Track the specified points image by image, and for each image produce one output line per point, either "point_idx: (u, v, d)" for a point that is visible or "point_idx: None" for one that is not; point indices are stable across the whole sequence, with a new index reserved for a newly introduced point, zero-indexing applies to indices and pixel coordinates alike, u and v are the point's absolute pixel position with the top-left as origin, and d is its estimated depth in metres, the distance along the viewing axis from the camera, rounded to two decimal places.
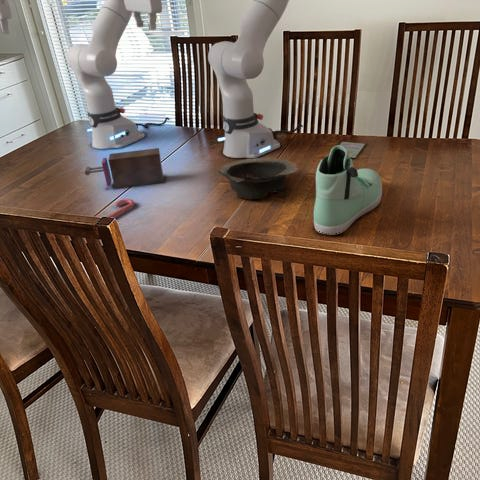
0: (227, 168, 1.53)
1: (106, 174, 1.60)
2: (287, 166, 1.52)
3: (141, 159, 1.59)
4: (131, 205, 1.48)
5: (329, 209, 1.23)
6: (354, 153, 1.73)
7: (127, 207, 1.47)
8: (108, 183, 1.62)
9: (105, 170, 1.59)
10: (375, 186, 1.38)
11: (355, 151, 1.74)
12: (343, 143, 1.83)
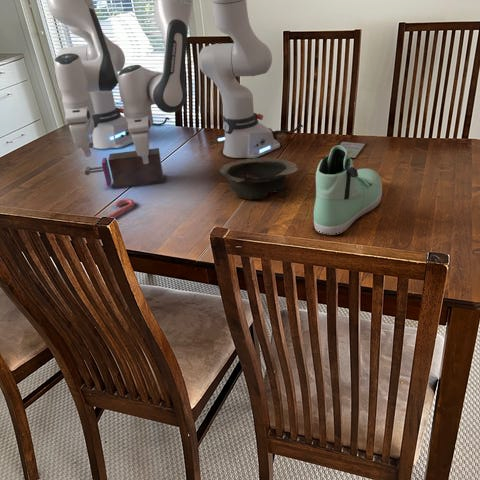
0: (227, 168, 1.53)
1: (106, 174, 1.60)
2: (287, 166, 1.52)
3: (141, 159, 1.59)
4: (131, 205, 1.48)
5: (329, 209, 1.23)
6: (354, 153, 1.73)
7: (127, 207, 1.47)
8: (108, 183, 1.62)
9: (105, 170, 1.59)
10: (375, 186, 1.38)
11: (355, 151, 1.74)
12: (343, 143, 1.83)
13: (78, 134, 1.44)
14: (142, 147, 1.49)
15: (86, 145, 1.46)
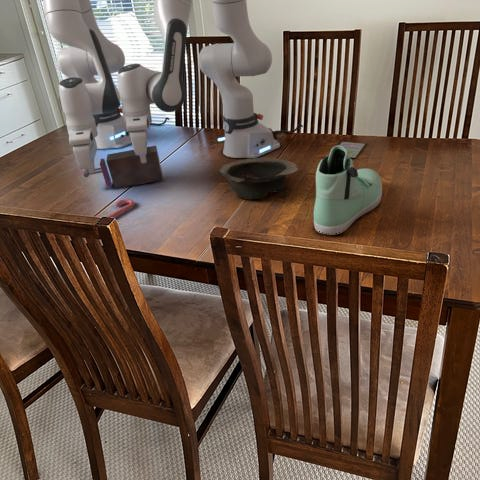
0: (227, 168, 1.53)
1: (105, 175, 1.60)
2: (287, 166, 1.52)
3: (139, 158, 1.58)
4: (131, 205, 1.48)
5: (329, 209, 1.23)
6: (354, 153, 1.73)
7: (127, 207, 1.47)
8: (107, 184, 1.62)
9: (104, 171, 1.59)
10: (375, 186, 1.38)
11: (355, 151, 1.74)
12: (343, 143, 1.83)
13: (81, 155, 1.47)
14: (141, 146, 1.49)
15: (89, 166, 1.49)
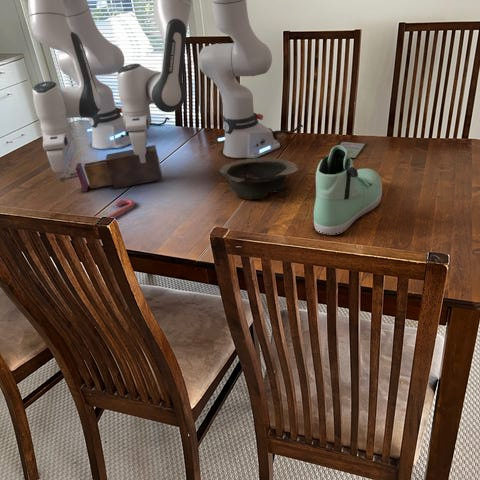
0: (227, 168, 1.53)
1: (81, 179, 1.60)
2: (287, 166, 1.52)
3: (138, 157, 1.58)
4: (131, 205, 1.48)
5: (329, 209, 1.23)
6: (354, 153, 1.73)
7: (127, 207, 1.47)
8: (84, 188, 1.61)
9: (80, 175, 1.59)
10: (375, 186, 1.38)
11: (355, 151, 1.74)
12: (343, 143, 1.83)
13: (55, 160, 1.47)
14: (140, 146, 1.49)
15: (63, 171, 1.49)
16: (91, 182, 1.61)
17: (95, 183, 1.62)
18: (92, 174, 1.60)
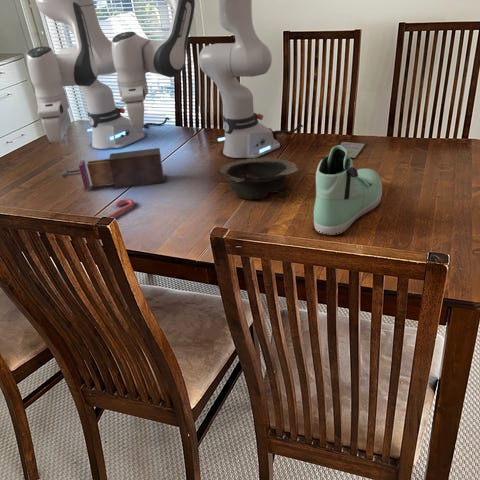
0: (227, 168, 1.53)
1: (83, 177, 1.59)
2: (287, 166, 1.52)
3: (141, 159, 1.59)
4: (131, 205, 1.48)
5: (329, 209, 1.23)
6: (354, 153, 1.73)
7: (127, 207, 1.47)
8: (86, 186, 1.61)
9: (82, 173, 1.59)
10: (375, 186, 1.38)
11: (355, 151, 1.74)
12: (343, 143, 1.83)
13: (51, 128, 1.42)
14: (137, 117, 1.44)
15: (59, 140, 1.44)
16: (93, 180, 1.61)
17: (97, 181, 1.62)
18: (95, 172, 1.60)
